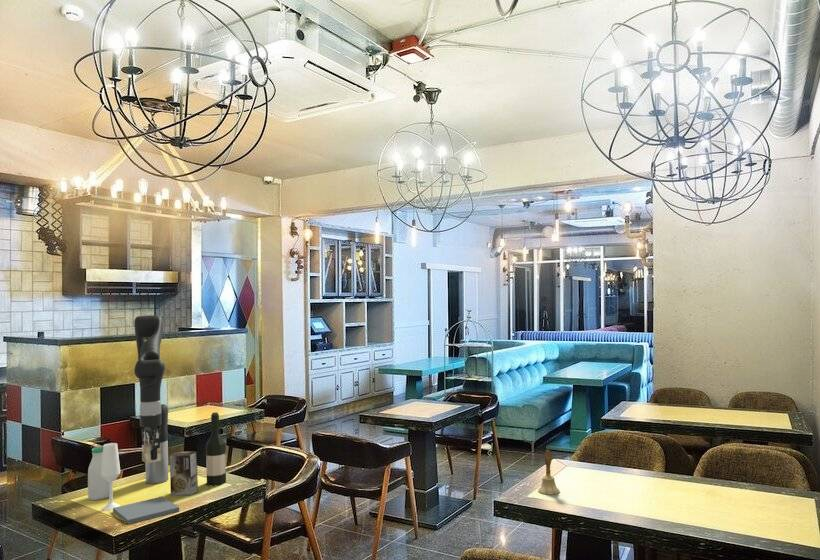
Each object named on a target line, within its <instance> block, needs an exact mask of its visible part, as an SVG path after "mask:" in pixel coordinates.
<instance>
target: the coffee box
mask: <svg viewBox="0 0 820 560" xmlns="http://www.w3.org/2000/svg"><path fill="white" fill-rule="evenodd" d="M169 473H170V474H169V475H170V477H169V478H170V496H188V495H189V496H191V495H193V494H195V493H196V492H198V491H199V482H198V481H199V480H198V452H197V451H193V450H191V451H175V452H173V453H172V454H170V455H169Z"/></svg>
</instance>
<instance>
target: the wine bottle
mask: <svg viewBox="0 0 820 560" xmlns="http://www.w3.org/2000/svg"><path fill="white" fill-rule="evenodd" d="M218 412H219V411H217V412H215V411H214V412H211V414H210V420H211V422H210V423H211V424H210V427H211V428H210V429H211V431H210V432H211V434H210V436H209V438H208V439H207V442H206V443H205V456H206V457H205V459H206V460H205V461H206V464H205V465H206V468H205V469H206V485H207V486H209V485H212V486H211V487H214V486H215V485H217V486H222V485H224V484H226V483H227V474H226V473H227V468H226V466H227V465H226V464H227V463H226V461H227V459H226V442H225V440H224V439H223V437H222V436H221V433H220V414H219V413H218ZM221 484H222V485H221ZM215 487H216V486H215Z"/></svg>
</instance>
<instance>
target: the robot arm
mask: <svg viewBox="0 0 820 560" xmlns="http://www.w3.org/2000/svg"><path fill="white" fill-rule="evenodd" d="M133 324H134V333H135V334H134V335H135V341H136V349H137V361H136V364H135V365H134V369H133V370H134V371H133V373H134V375H135V377H136V378H137V379H138V381H139V392H140V393H139V394H140V395H139V401H140V403H139V426H140V427H141V428H142V429H141V430H140V431H141V441H142V445H144V444H150V449H151V460H156V459H157V449H158V448H160V450H161V461H156V462H151V463H145V483H146V484H148V485H149V484H150V485H151V484H152V485H153V484H161V483H164V482H167V481H168V480H169V446H168V444H169V442H168V441H169V439H168V436H169V435H168V434H169V432H168V422H169V421H168V420H169V419H168V418H169V410H168V406H167V405H166V404H165V403H164V404H163V403H161V386H162V381H163V378H164V375H165V371H166V365H165V362H164V361H163V360H162V359H161V357H160V356H161V343H162V339H163V334H164V320H163V317H162V316H161V315H159V314H151V315H138V316H136V317H135V319H134V323H133ZM145 338H147V339H145ZM158 426H159V428H158Z"/></svg>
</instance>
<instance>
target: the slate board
mask: <svg viewBox="0 0 820 560" xmlns="http://www.w3.org/2000/svg"><path fill="white" fill-rule="evenodd" d="M177 511H178V512H180V506H178V505H176V504H174V503H173V502H172V501H170V500H169V499H166V498H165V497H164V496H158V497H154V498H150V499H145V500H141V501H137V502H132V503H128V504H124V505H121V506H119V507H115V508H113V510H112V513H113V514H115V515H116V516H117V515H118V516H117V517H119V518H120V519H121V520H122V519H123V520H122V521H123V522H125V523H126V524H127V523H128V524H127V525H131V524H135V523H138V522H142V521H147V520H151V519H155V518H160V517H162V516H165V515H170V514H173V513H177Z"/></svg>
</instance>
